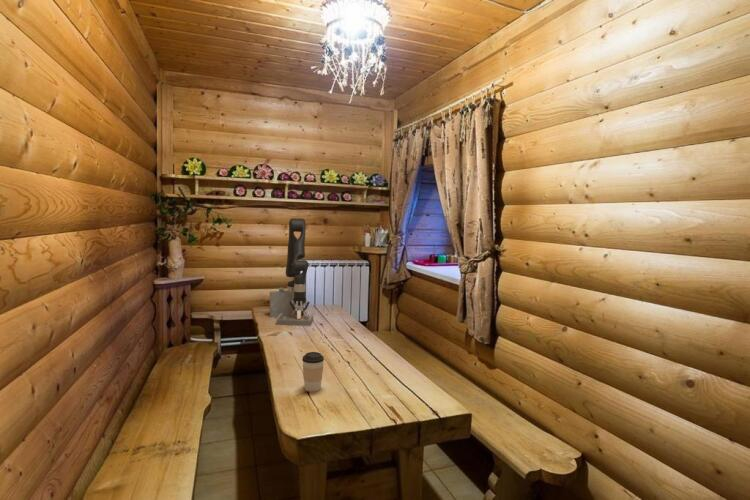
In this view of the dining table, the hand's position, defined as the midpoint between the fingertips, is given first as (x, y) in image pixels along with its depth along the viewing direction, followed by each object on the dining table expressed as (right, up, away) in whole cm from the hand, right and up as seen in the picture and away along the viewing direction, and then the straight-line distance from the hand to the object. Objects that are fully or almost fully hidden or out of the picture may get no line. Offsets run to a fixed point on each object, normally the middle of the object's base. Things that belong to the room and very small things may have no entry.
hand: (299, 316), depth 274 cm
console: (-3, -4, 0) cm, 5 cm away
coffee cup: (+24, -15, -99) cm, 103 cm away
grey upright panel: (-16, -3, +16) cm, 23 cm away
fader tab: (0, -1, 0) cm, 1 cm away
